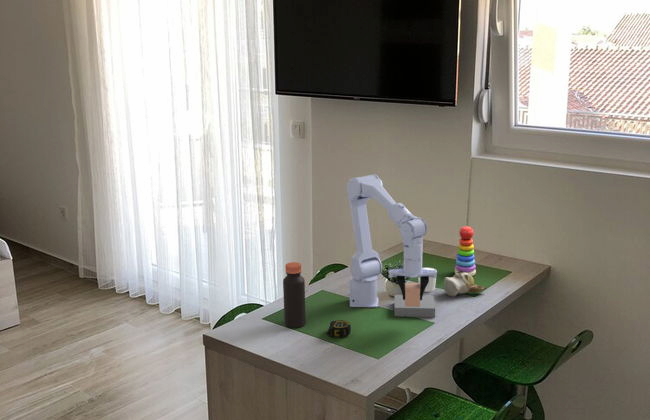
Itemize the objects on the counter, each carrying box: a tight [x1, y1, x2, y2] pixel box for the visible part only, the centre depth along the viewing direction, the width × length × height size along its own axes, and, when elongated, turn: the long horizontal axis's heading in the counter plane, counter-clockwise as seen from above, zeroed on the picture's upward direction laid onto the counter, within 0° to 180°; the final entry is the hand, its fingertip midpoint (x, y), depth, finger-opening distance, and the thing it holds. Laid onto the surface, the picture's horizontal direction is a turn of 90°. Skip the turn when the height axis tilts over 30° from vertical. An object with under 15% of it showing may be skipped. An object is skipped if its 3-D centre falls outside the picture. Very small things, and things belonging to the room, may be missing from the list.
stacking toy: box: [454, 225, 477, 277], centre depth 259 cm, size 8×8×19 cm
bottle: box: [282, 261, 307, 329], centre depth 218 cm, size 7×7×20 cm
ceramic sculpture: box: [443, 271, 487, 297], centre depth 242 cm, size 11×9×15 cm
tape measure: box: [326, 319, 352, 338], centre depth 212 cm, size 7×7×4 cm
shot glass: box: [417, 267, 438, 293], centre depth 247 cm, size 7×7×7 cm
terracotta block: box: [405, 282, 420, 307], centre depth 216 cm, size 4×4×6 cm
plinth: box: [394, 294, 436, 318], centre depth 229 cm, size 13×11×3 cm
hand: (412, 298), depth 216 cm, fingers closed on terracotta block, 4 cm apart
